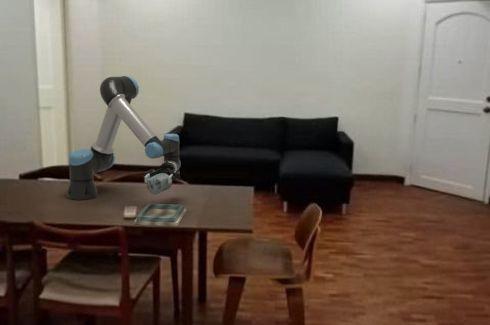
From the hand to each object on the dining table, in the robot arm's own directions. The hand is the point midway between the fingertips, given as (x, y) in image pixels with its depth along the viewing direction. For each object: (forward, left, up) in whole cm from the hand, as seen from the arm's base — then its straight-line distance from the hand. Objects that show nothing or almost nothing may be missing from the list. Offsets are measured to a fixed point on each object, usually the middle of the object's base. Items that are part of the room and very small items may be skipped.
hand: (157, 180), depth 241 cm
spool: (0, +4, -7) cm, 8 cm away
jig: (+1, +4, -19) cm, 19 cm away
